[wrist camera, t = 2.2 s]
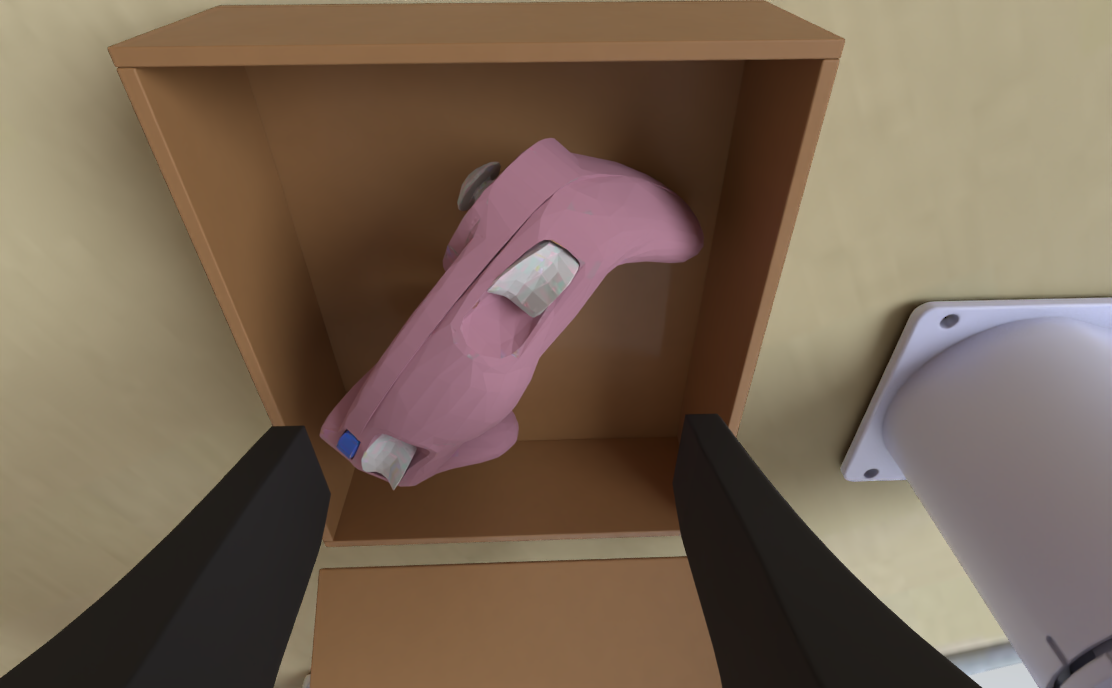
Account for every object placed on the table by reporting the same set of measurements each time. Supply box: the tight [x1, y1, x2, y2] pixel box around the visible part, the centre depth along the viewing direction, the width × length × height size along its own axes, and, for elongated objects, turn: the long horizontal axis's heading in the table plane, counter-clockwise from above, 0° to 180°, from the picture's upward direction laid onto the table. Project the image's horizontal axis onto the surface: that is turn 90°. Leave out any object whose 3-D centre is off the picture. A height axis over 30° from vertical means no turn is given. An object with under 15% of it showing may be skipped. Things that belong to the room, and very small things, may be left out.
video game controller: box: [320, 138, 704, 490], centre depth 14 cm, size 10×5×7 cm, turn 144°
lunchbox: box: [108, 0, 845, 547], centre depth 15 cm, size 12×14×4 cm
